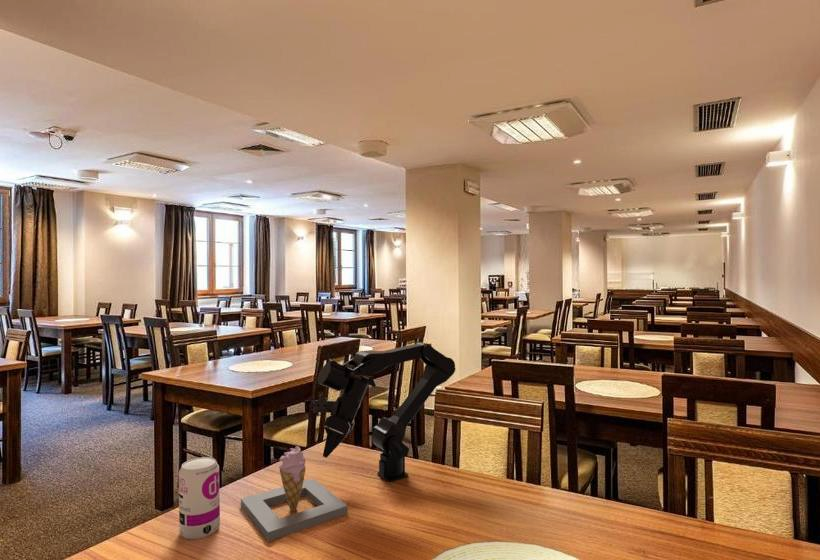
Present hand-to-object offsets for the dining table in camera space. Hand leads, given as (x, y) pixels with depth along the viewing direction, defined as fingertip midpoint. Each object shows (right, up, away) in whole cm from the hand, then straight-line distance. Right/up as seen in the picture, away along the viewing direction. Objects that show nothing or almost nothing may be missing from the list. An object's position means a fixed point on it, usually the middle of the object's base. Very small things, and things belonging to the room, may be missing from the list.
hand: (326, 454), depth 124 cm
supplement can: (-25, -11, -17) cm, 32 cm away
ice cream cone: (-6, -10, -9) cm, 15 cm away
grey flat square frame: (-7, -10, -9) cm, 15 cm away
